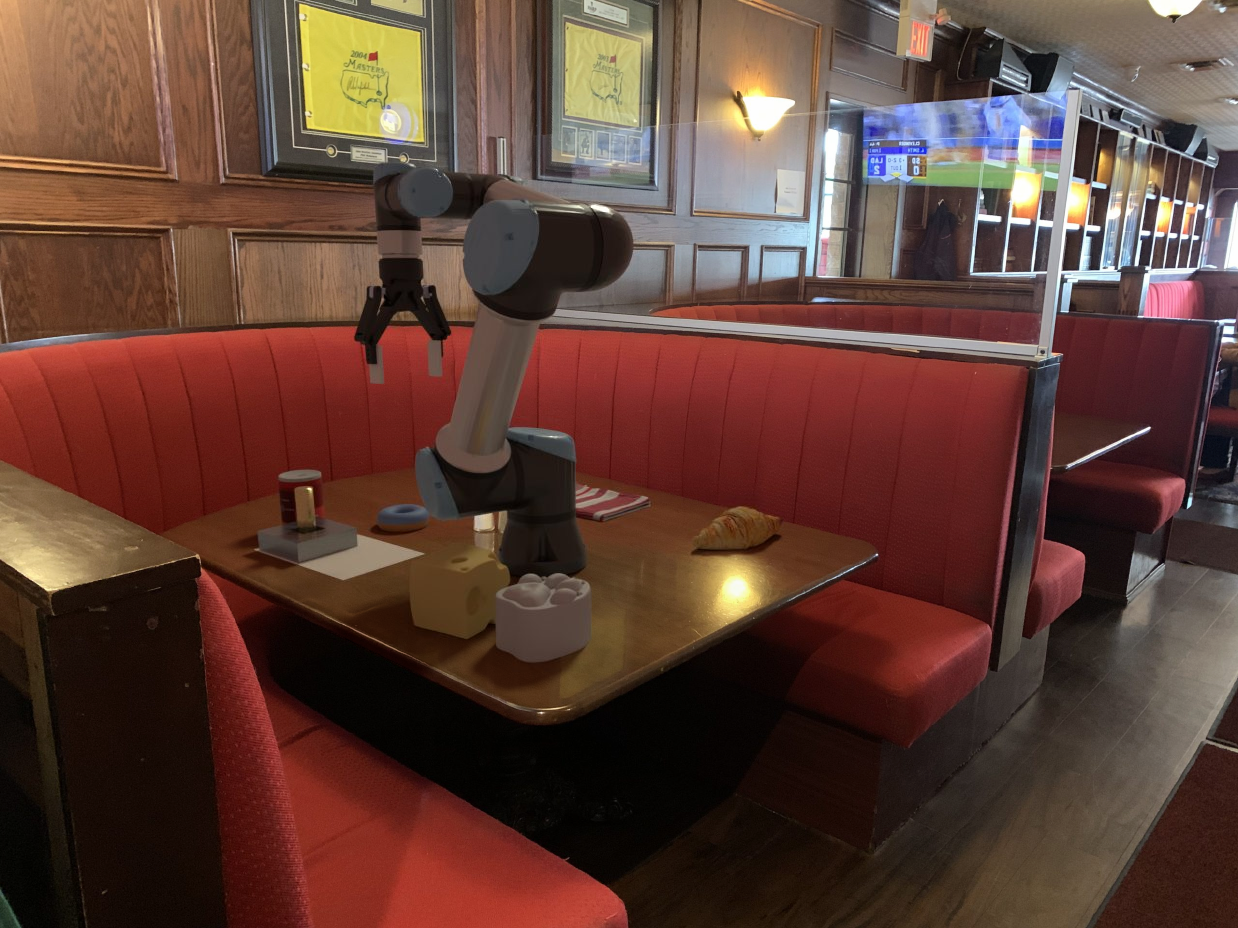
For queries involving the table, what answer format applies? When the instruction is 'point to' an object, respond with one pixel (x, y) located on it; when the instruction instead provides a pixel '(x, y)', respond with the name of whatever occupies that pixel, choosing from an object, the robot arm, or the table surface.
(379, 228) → the robot arm
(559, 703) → the table surface
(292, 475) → the canned food
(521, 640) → the lumpy-topped squat cylinder
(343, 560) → the mat
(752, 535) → the croissant
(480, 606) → the cheese
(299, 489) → the pin
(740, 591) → the table surface
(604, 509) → the dish towel
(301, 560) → the square hole block
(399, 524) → the doughnut
